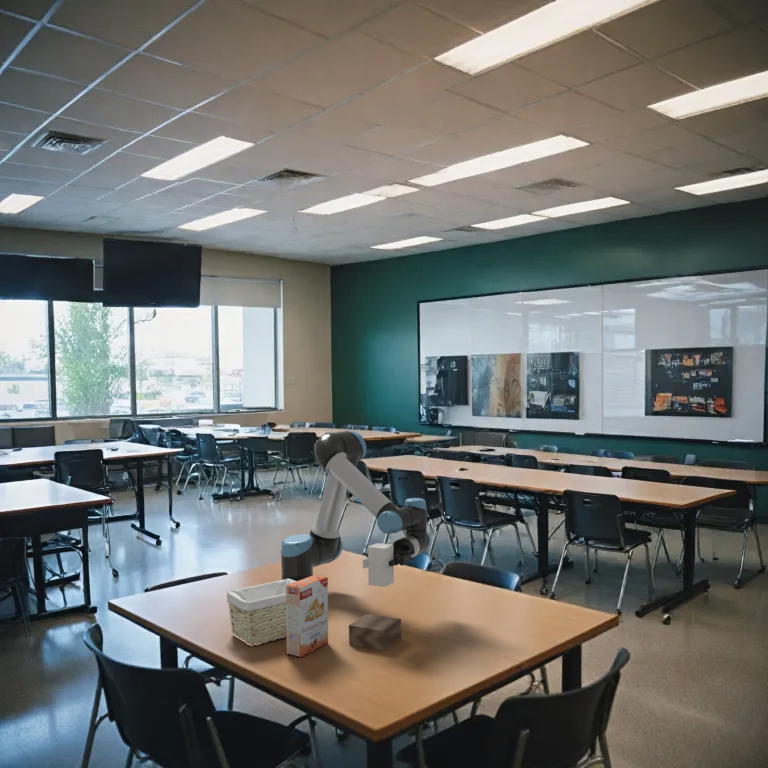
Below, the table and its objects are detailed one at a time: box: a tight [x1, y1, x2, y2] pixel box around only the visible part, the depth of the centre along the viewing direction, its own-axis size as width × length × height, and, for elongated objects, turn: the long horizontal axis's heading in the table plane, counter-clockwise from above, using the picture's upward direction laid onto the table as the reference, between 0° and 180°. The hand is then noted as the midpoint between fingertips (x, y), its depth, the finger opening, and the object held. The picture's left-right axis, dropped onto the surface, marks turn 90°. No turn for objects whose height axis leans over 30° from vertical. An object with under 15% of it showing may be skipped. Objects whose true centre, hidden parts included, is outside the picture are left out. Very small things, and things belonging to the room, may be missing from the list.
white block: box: [367, 542, 395, 588], centre depth 225 cm, size 6×6×12 cm
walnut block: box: [348, 613, 402, 652], centre depth 221 cm, size 12×12×6 cm
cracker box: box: [285, 574, 329, 658], centre depth 216 cm, size 14×6×21 cm, turn 148°
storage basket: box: [226, 579, 297, 645], centre depth 230 cm, size 24×16×15 cm
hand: (373, 565), depth 221 cm, fingers closed on white block, 6 cm apart
